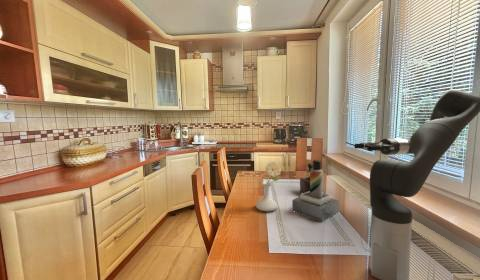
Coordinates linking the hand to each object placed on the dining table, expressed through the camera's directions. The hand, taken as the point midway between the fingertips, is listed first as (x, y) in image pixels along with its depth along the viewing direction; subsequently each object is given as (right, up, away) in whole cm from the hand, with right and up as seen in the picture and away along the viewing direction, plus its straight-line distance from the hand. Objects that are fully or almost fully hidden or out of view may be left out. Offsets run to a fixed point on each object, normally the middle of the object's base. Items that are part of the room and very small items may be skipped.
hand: (361, 147), depth 94 cm
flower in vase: (-40, -33, +14) cm, 54 cm away
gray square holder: (-17, -33, +10) cm, 38 cm away
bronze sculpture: (-10, -31, +39) cm, 51 cm away
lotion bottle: (-17, -27, +10) cm, 33 cm away
